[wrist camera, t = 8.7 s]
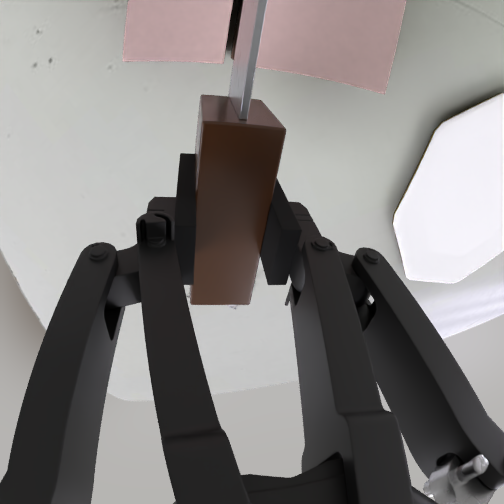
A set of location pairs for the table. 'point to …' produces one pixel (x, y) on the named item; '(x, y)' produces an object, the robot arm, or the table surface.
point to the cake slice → (177, 30)
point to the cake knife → (234, 176)
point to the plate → (455, 198)
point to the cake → (331, 39)
